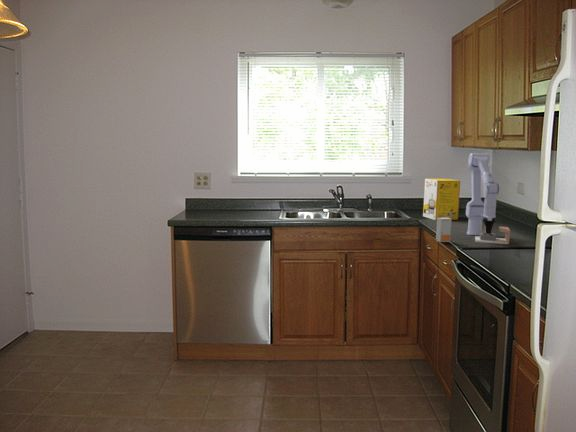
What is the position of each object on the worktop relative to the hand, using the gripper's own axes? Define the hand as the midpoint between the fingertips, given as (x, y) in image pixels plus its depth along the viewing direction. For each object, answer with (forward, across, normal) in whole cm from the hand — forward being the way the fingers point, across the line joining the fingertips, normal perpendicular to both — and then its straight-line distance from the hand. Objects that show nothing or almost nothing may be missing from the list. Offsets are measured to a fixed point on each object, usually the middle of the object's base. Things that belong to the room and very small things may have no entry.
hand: (488, 232), depth 311 cm
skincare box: (+4, +11, -22) cm, 25 cm away
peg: (+2, 0, 0) cm, 2 cm away
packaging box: (+4, -79, -26) cm, 83 cm away
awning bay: (+4, 0, +2) cm, 5 cm away
